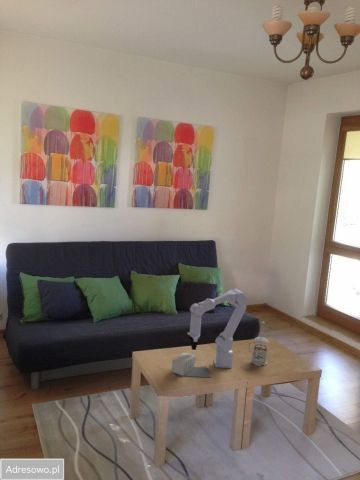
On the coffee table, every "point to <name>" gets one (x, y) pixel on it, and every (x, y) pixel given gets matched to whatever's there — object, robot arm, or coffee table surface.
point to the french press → (259, 359)
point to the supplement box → (183, 363)
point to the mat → (197, 372)
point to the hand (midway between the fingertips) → (193, 349)
